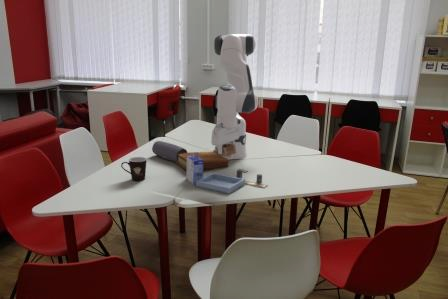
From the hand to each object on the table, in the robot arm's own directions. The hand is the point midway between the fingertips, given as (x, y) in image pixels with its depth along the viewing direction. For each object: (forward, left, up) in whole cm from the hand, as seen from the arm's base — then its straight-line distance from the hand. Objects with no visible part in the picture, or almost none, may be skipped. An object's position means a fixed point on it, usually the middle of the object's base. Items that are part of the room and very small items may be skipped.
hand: (225, 151), depth 176 cm
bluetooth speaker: (-49, +20, -17) cm, 56 cm away
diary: (-27, +20, -17) cm, 37 cm away
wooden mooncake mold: (0, 0, -1) cm, 1 cm away
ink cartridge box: (-17, -1, -18) cm, 24 cm away
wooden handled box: (+11, +13, -17) cm, 24 cm away
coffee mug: (-44, -14, -17) cm, 49 cm away
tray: (-3, 0, -17) cm, 17 cm away
